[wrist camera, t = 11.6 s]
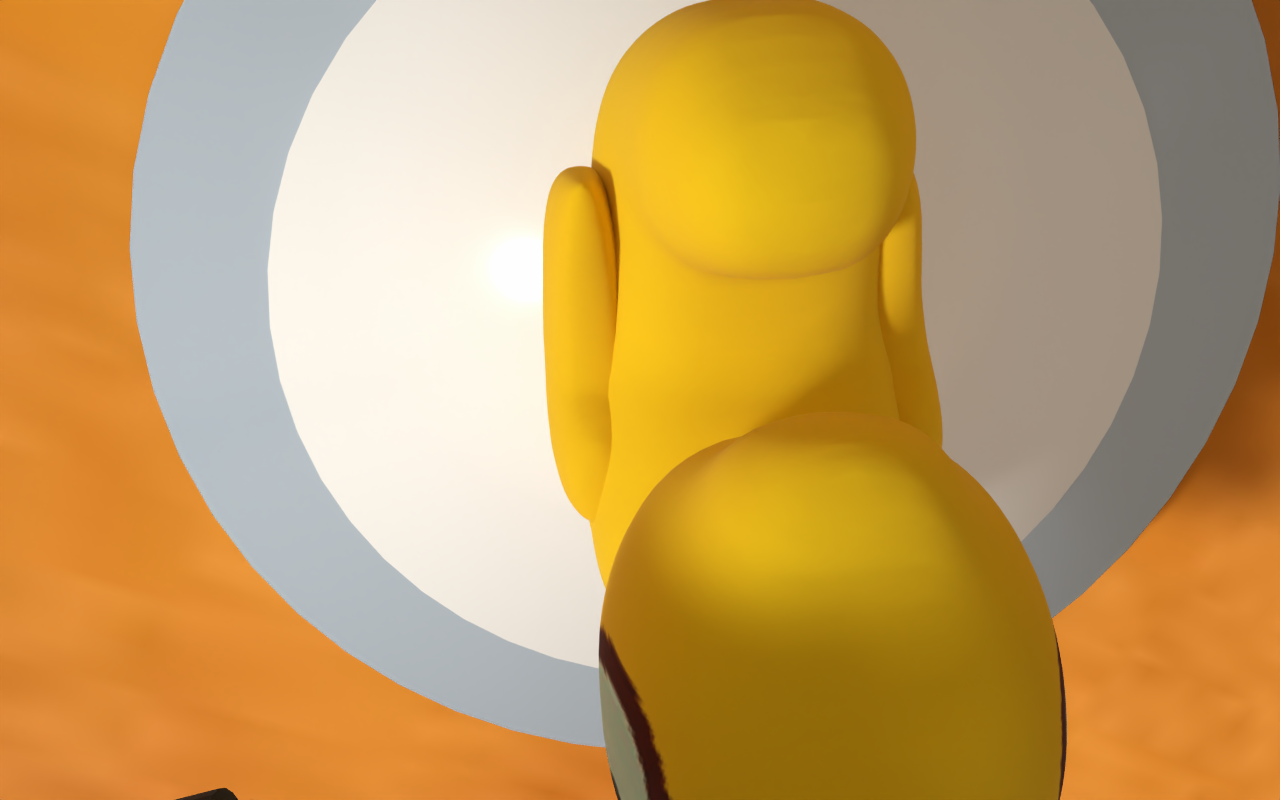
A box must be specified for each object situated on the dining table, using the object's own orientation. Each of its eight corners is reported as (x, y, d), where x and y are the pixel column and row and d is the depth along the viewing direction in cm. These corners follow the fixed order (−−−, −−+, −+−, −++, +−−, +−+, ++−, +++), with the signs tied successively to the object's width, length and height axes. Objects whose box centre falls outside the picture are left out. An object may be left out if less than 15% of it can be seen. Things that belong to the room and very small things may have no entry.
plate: (-74, -150, 15) (-119, -148, 14) (1256, -497, 15) (1313, -520, 14) (370, 802, 24) (363, 849, 23) (1238, 595, 23) (1272, 632, 22)
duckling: (866, 612, 21) (1119, 1195, 12) (571, 640, 21) (608, 1259, 12) (902, -56, 16) (1386, 105, 7) (510, -33, 16) (494, 167, 7)
